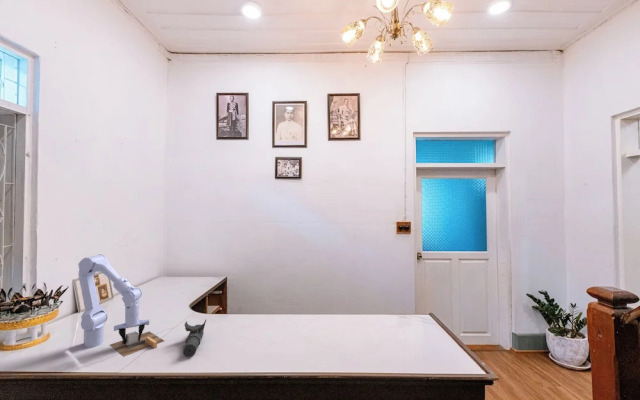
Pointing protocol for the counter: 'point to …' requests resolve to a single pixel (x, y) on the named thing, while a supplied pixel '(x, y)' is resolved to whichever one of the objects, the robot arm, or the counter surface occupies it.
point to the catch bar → (151, 342)
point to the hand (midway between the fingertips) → (132, 342)
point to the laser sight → (193, 338)
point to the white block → (131, 338)
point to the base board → (135, 344)
